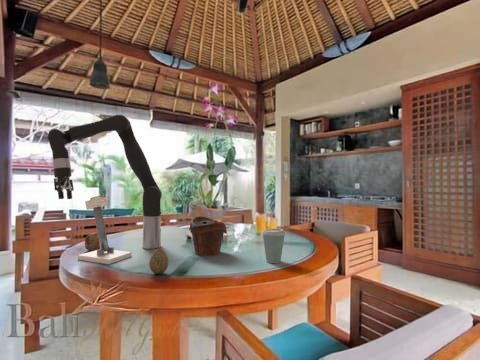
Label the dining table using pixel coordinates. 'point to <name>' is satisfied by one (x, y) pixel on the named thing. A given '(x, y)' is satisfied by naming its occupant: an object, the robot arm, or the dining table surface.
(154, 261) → the decorative egg
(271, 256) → the disposable coffee cup
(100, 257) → the base plate
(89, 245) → the brown textured slab
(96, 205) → the post
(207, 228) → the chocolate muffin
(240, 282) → the dining table surface
